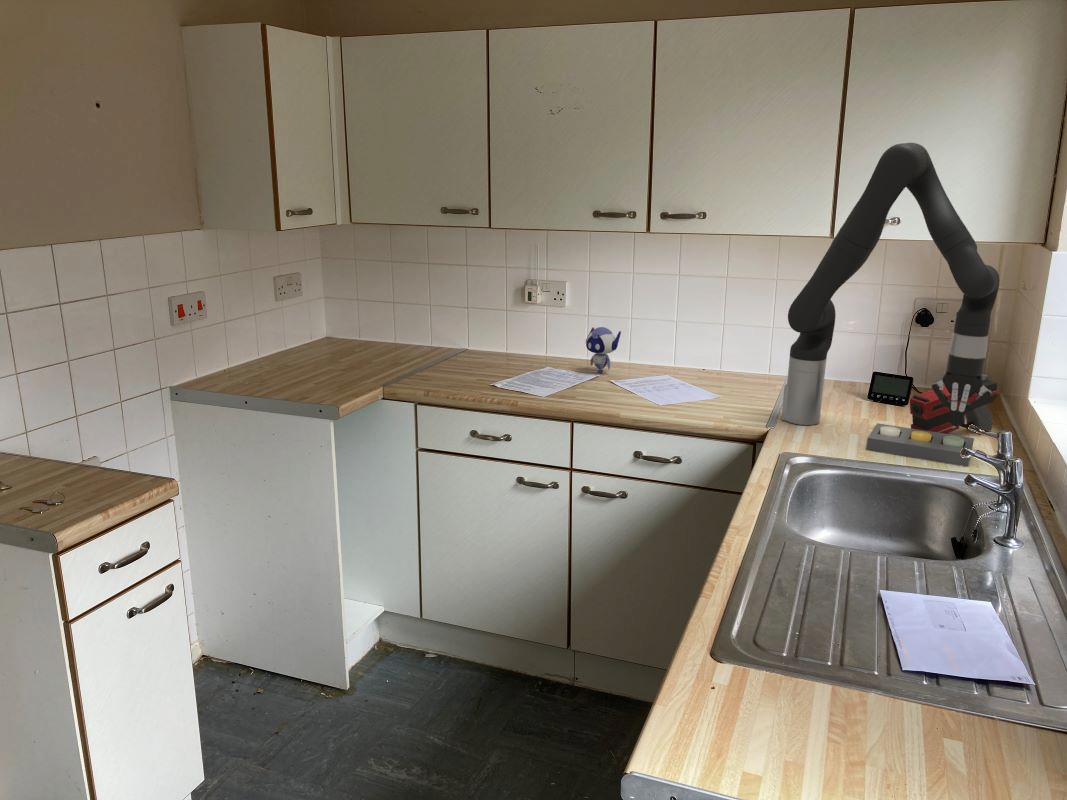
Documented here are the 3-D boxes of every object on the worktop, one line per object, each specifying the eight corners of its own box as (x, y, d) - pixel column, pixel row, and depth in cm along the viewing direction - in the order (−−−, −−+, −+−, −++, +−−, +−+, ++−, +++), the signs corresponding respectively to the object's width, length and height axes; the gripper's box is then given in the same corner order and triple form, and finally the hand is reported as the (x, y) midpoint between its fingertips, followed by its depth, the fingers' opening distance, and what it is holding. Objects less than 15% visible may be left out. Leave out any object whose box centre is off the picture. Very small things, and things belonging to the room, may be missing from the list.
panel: (865, 449, 203) (867, 437, 202) (875, 434, 215) (877, 423, 214) (967, 466, 193) (969, 454, 192) (972, 449, 204) (974, 438, 204)
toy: (577, 373, 272) (579, 327, 268) (594, 367, 280) (595, 323, 276) (606, 378, 267) (608, 331, 262) (622, 372, 274) (624, 327, 270)
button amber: (908, 448, 203) (910, 434, 202) (910, 443, 207) (912, 429, 206) (928, 451, 201) (930, 437, 200) (930, 446, 204) (932, 432, 203)
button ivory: (877, 443, 206) (879, 429, 205) (880, 438, 210) (882, 425, 209) (896, 446, 204) (898, 432, 203) (899, 441, 208) (901, 428, 207)
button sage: (940, 453, 200) (942, 439, 199) (942, 448, 203) (944, 434, 202) (961, 457, 197) (963, 442, 196) (962, 451, 201) (964, 437, 200)
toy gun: (999, 428, 218) (998, 374, 213) (926, 457, 212) (924, 401, 207) (982, 422, 223) (981, 369, 218) (910, 450, 217) (907, 396, 212)
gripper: (934, 352, 194) (922, 424, 199) (999, 360, 188) (985, 434, 192) (937, 346, 200) (926, 416, 205) (1000, 354, 194) (987, 426, 199)
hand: (955, 425), depth 199 cm, fingers closed
